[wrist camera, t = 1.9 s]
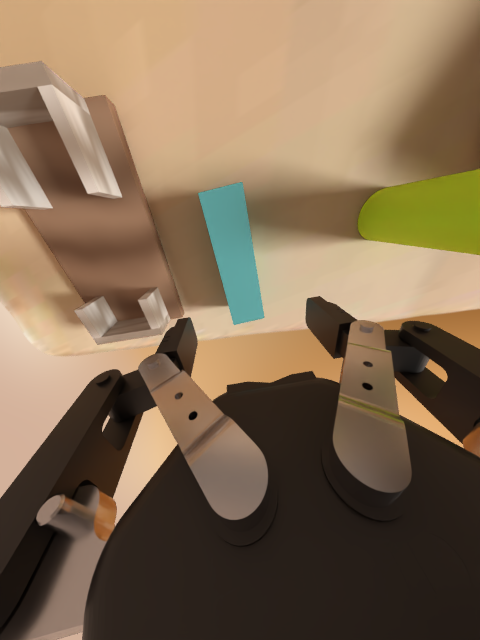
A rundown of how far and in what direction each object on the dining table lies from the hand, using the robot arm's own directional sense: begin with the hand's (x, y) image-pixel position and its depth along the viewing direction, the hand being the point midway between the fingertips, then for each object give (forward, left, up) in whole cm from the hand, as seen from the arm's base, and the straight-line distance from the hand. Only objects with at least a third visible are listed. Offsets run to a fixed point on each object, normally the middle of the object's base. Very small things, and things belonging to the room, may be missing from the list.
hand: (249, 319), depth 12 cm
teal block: (-2, 0, -15) cm, 15 cm away
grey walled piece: (-6, -15, -14) cm, 22 cm away
